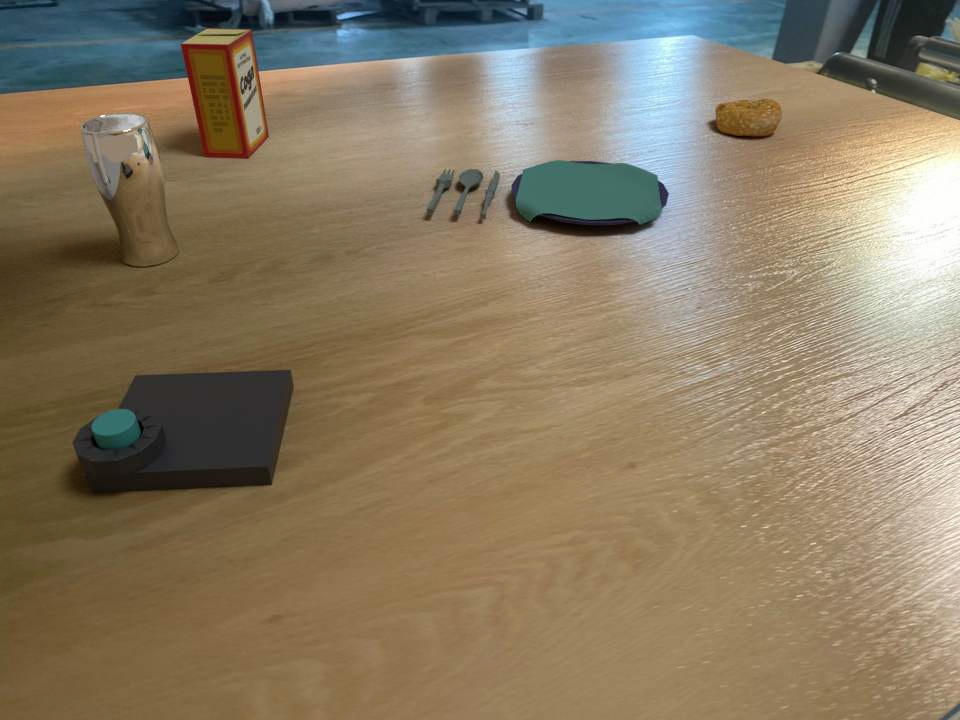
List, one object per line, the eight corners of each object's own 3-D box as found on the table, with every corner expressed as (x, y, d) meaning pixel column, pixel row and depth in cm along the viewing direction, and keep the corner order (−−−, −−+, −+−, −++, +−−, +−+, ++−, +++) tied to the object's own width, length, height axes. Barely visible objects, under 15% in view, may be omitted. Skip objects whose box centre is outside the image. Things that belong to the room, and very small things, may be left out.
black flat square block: (75, 498, 55) (60, 462, 53) (129, 393, 65) (118, 359, 63) (271, 489, 56) (263, 454, 54) (294, 386, 66) (288, 353, 64)
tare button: (91, 452, 55) (84, 436, 54) (105, 425, 57) (99, 409, 56) (133, 450, 55) (128, 434, 54) (146, 423, 57) (140, 407, 56)
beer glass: (132, 240, 89) (95, 111, 80) (191, 241, 89) (160, 112, 80) (107, 268, 83) (64, 133, 75) (170, 269, 83) (134, 134, 74)
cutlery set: (672, 242, 89) (675, 224, 87) (419, 226, 92) (418, 209, 91) (662, 177, 105) (664, 161, 103) (447, 166, 108) (446, 150, 107)
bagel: (750, 115, 127) (756, 86, 124) (792, 136, 118) (799, 105, 116) (698, 121, 124) (703, 91, 122) (737, 143, 116) (743, 112, 113)
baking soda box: (248, 158, 111) (227, 42, 101) (204, 156, 111) (180, 41, 102) (269, 136, 118) (251, 26, 109) (228, 135, 119) (207, 25, 110)
